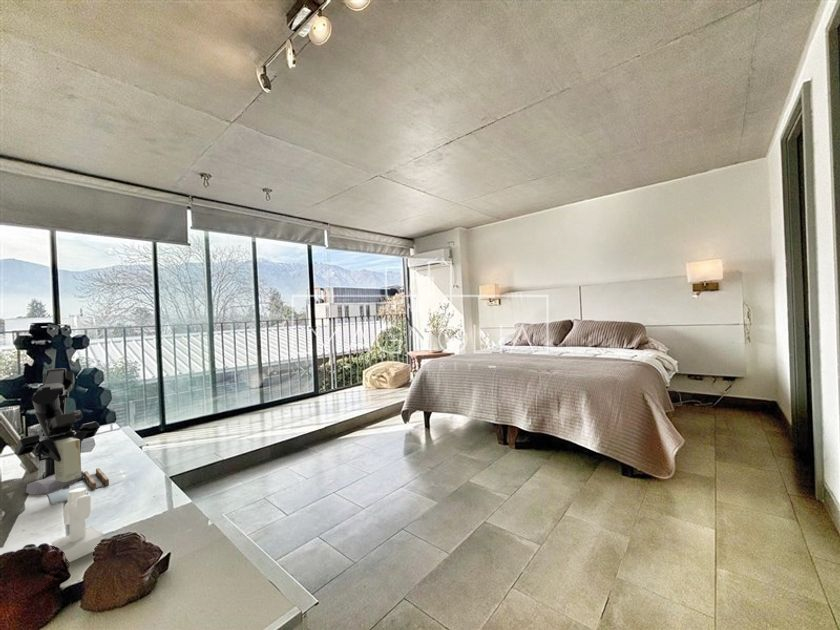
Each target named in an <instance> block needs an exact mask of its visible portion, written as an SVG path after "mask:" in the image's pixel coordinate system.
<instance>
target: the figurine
mask: <svg viewBox="0 0 840 630" xmlns="http://www.w3.org/2000/svg"><path fill="white" fill-rule="evenodd" d="M86 490H87V488H86V487H85V488H77V489H74V490H72V491H71V490H70V491H69V492H68V498H67V501H66V503H65V505H64V508H63V523H64V525H69V529H68V530H69V531H68V532H69V534H68V535H66V536H64V537H61V538H59V539H56V540H54V541H51V542H50V544H51V546H52V547H53V546H55V547H58V548H60V549H61V550H62V551H63V552H64V553H65V556H66V558H67V559H68V561H69V562H68V561H67V562H68V563H71V562H73V561H76V560H78V559H80V558H81V557H82V558H83V557H85V556H86V555H88V554H89V555H90V553H93V552H94V551H93V549H94V548H95V547H96V546H97V547H98V545H99V543H100V542H101V540H102V538H103V537H104V535H105V533H104V532H102V531H100V530H98V529H97V528H95V527H94V526H92V525H91V526H88V527H86V520H87V519H88V518H89V517H90V515H91V511H92V506H91V505H92V501H91V500H92V497H91V495H90V494H87V495H86ZM97 544H98V545H97ZM97 547H96V548H97Z"/></svg>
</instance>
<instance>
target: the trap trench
mask: <svg viewBox="0 0 840 630" xmlns="http://www.w3.org/2000/svg"><path fill="white" fill-rule="evenodd" d="M83 472H84V477H83V479H85V481H86V482H87V484H88V485H89V487H90V488H91V489H92V490H97V489H100V488H103V487H106V486H109V484H110V479H109V477H108V476H107V475H106V474H105V473H104V472H103V471H102V470H101V468H100V467H97V468H95V473H92V474H90V473H89V471H88V470H85V471H83Z"/></svg>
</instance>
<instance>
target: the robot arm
mask: <svg viewBox="0 0 840 630" xmlns="http://www.w3.org/2000/svg"><path fill="white" fill-rule="evenodd" d="M74 384H75V374H74V372H73V371H71V370H67V368H64V367H60V368H50V369H47V371H46V373H45V374H43V375H42V386H40V387H38V389H37V390H36V392H34V393H33V395H32V397H31V404H32V405H33V407H34V411H35V412H34V414H35V416H36V419H37V421H38V423H39V425H40V427H41V428H40V433H43V434H42V435H41V436H40V434H33V435H28V436H24V437H21V438H20V439H19V440H18V442H17V444H16V446H15V449H14V450H15V453H16V456H24V455H27V454H31V453H33V451H34V454H38V461H39V462H42V461H44V463H45V465H44V468H45V470H44V472H42V475H43V477H44V479H45V478H46V477H48V476H51V475H54V474H55V461H57V462H60V461H61V457H60V455H59V453H58V451H57V450H56V448H55V446H54V442H55V441H59V440H63V439H67V438H76V439H80V454H82V442H83V441H84V440H87V439H90V438H93V437H95V436H96V434H97V433H98V431H99V429H100V427H101V426H100V423H99V422H97V421H91V422H87V423H82V424H81V426H80V427H79V429H75V430H74V429H73V428H74V426H75V423H77V421H78V422H79V421H81V420H82V419H83V418H84V416H83V413H82V411H81V409H77V410H73V411H72V412H68V413H66V404H67V399H68V398H69V396H70V392H71V391H72V389H73V385H74ZM54 460H55V461H54Z"/></svg>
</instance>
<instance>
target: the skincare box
mask: <svg viewBox="0 0 840 630" xmlns="http://www.w3.org/2000/svg"><path fill="white" fill-rule="evenodd" d="M54 446H55V448H56V450H57V451H58V453H59V455H60V457H61V461H60V462H57V461H55V460H54V461H55V480H58V481H61V482H67V481H70V480H73V479H76V478H79V477H81V471H82V460H81V457H82V456H81V454H82V453H81V454H80V439H76V438H67V439H63V440H59V441H55V442H54Z"/></svg>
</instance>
